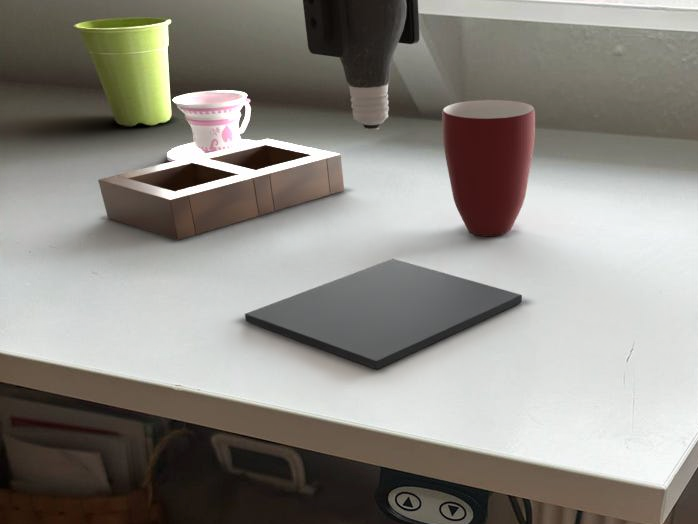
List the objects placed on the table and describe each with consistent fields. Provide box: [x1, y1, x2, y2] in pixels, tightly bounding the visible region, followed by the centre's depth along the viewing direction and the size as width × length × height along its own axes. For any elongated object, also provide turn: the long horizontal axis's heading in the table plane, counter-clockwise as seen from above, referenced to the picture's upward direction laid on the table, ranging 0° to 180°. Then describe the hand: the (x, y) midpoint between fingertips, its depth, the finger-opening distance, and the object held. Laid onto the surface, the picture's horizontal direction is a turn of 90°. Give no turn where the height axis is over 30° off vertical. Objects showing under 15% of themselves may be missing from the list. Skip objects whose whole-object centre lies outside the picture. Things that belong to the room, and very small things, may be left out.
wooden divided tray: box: [98, 138, 345, 241], centre depth 94 cm, size 21×12×4 cm, turn 140°
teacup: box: [166, 89, 257, 162], centre depth 108 cm, size 12×12×6 cm
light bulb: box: [338, 0, 407, 132], centre depth 61 cm, size 6×6×10 cm
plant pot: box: [73, 16, 172, 127], centre depth 122 cm, size 12×12×11 cm
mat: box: [244, 258, 523, 370], centre depth 72 cm, size 16×14×1 cm
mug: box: [441, 99, 536, 237], centre depth 85 cm, size 10×8×10 cm
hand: (365, 44), depth 61 cm, fingers closed on light bulb, 5 cm apart
